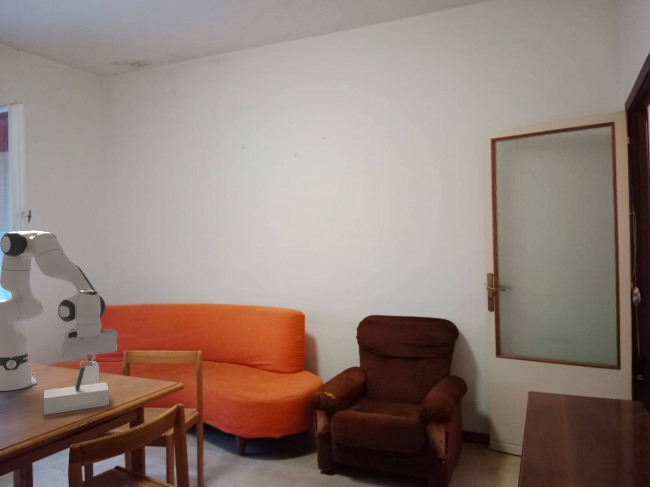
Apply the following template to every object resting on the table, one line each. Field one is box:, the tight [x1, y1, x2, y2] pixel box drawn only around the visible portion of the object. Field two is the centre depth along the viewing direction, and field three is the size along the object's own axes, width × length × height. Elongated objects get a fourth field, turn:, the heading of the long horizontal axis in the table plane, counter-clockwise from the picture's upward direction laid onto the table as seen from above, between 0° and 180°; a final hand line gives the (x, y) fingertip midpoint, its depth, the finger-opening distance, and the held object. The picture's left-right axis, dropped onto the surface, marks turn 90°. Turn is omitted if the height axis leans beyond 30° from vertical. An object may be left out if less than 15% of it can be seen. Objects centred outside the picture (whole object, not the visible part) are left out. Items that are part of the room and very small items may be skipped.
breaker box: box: [43, 382, 110, 416], centre depth 192 cm, size 12×22×6 cm, turn 119°
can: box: [81, 360, 100, 385], centre depth 212 cm, size 6×6×12 cm
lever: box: [74, 360, 87, 390], centre depth 193 cm, size 4×2×11 cm, turn 29°
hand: (89, 366), depth 195 cm, fingers closed
